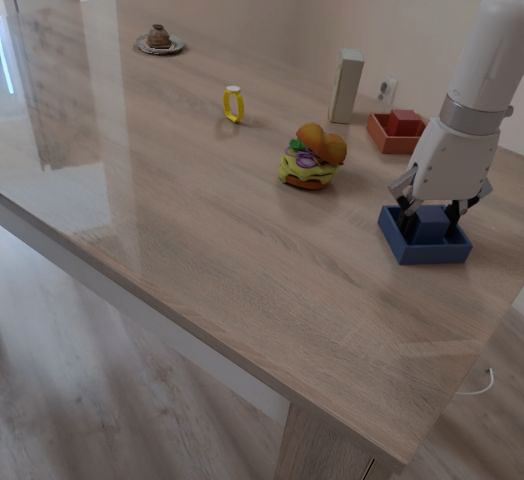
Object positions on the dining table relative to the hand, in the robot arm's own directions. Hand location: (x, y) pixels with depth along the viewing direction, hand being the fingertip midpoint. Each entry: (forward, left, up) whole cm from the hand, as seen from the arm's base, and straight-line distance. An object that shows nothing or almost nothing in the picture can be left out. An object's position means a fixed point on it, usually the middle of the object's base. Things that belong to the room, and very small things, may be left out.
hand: (423, 232), depth 73 cm
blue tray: (0, 0, -2) cm, 2 cm away
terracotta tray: (-8, -33, -2) cm, 34 cm away
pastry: (+39, -80, -2) cm, 89 cm away
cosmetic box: (+2, -43, -2) cm, 43 cm away
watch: (+25, -41, -2) cm, 48 cm away
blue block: (0, 0, -1) cm, 1 cm away
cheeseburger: (+14, -19, -2) cm, 24 cm away
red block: (-8, -33, -1) cm, 34 cm away
